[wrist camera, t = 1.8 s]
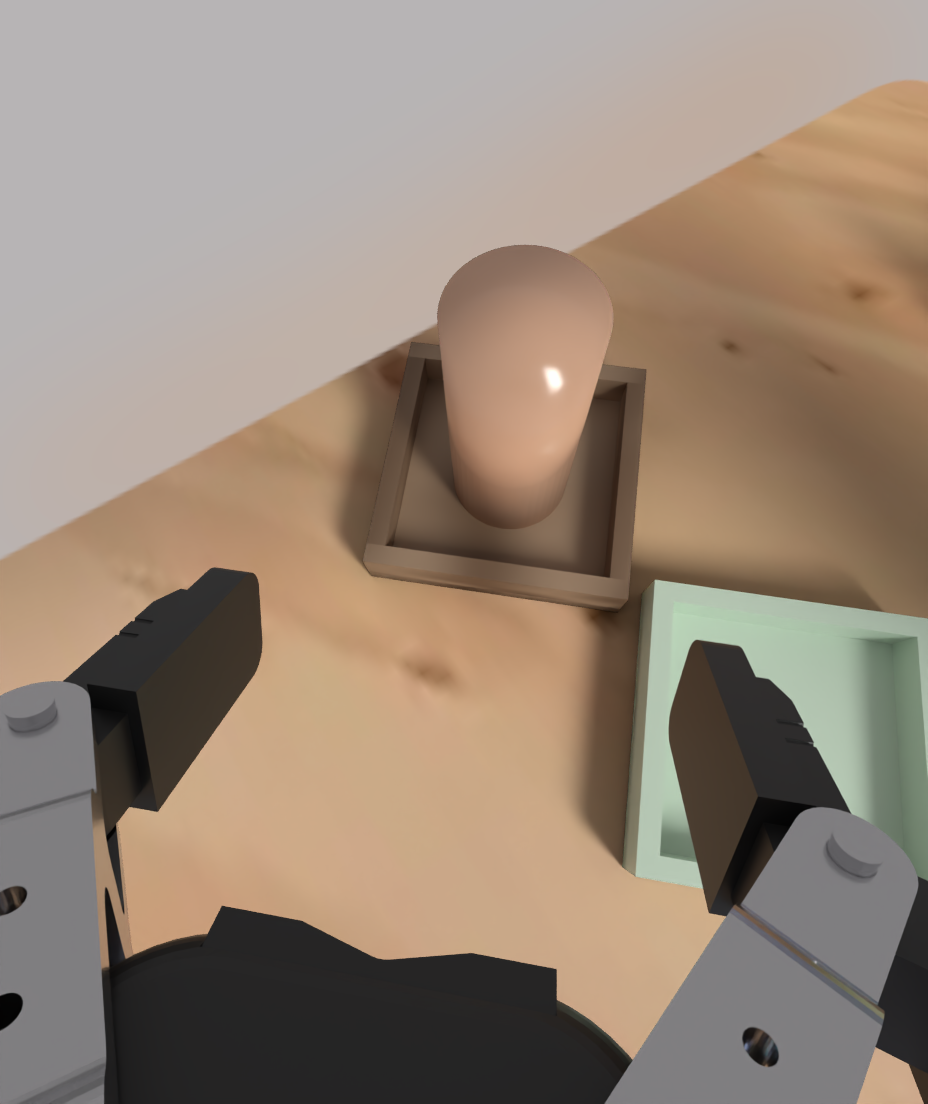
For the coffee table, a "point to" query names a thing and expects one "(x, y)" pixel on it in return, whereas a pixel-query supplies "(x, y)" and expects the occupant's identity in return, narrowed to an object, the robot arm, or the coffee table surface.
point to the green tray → (818, 694)
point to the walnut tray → (510, 554)
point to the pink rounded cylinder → (519, 377)
